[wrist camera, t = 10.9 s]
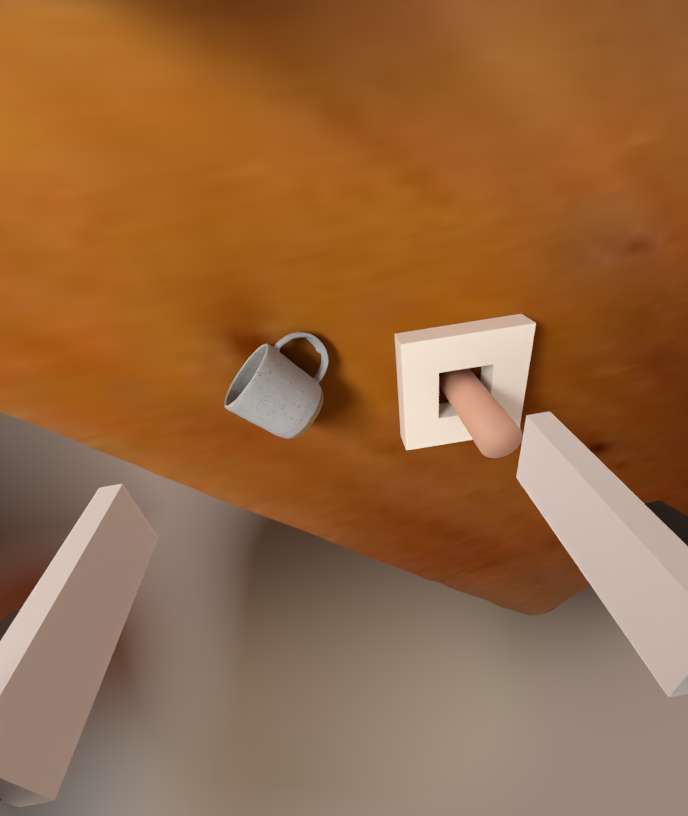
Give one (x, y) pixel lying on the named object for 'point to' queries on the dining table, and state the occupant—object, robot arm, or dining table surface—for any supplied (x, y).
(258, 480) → the dining table surface
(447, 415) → the socket block
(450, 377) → the peg
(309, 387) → the ceramic mug
